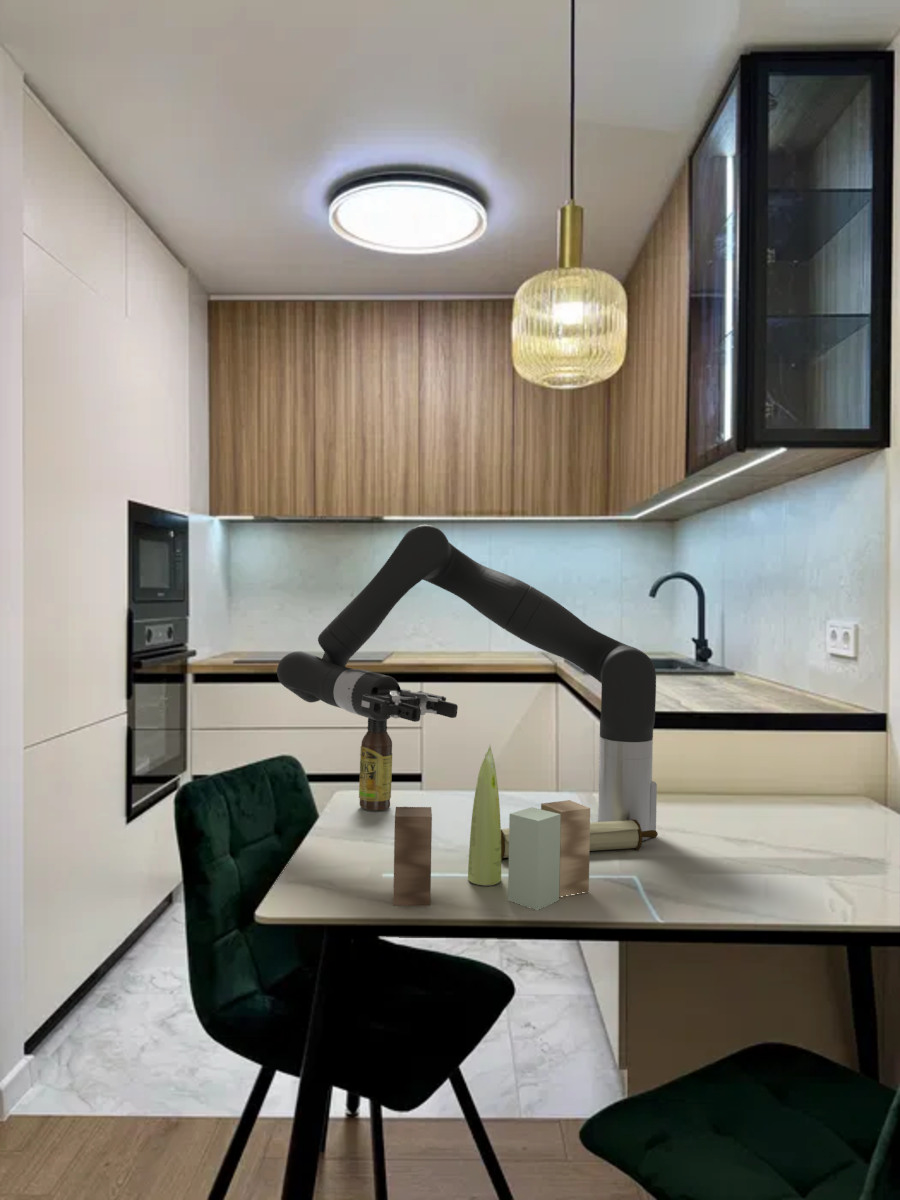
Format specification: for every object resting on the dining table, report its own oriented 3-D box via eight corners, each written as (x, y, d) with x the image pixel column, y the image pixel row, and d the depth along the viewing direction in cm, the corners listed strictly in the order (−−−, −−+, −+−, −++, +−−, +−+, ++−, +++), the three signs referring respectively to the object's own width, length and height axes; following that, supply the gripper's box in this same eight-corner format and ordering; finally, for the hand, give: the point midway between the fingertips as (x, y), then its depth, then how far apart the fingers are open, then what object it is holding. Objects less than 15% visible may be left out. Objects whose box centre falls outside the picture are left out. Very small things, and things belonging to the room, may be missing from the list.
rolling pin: (648, 843, 141) (649, 814, 141) (665, 853, 136) (665, 823, 136) (469, 855, 133) (469, 824, 133) (479, 866, 127) (479, 834, 127)
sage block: (530, 891, 116) (531, 807, 116) (559, 900, 113) (560, 814, 113) (507, 900, 113) (509, 813, 113) (537, 910, 109) (538, 820, 109)
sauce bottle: (352, 806, 161) (354, 705, 161) (379, 802, 165) (381, 703, 165) (370, 814, 156) (371, 709, 156) (397, 809, 160) (399, 707, 159)
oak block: (568, 881, 121) (569, 800, 121) (588, 892, 116) (590, 808, 116) (539, 886, 119) (541, 803, 119) (559, 897, 114) (561, 811, 114)
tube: (511, 884, 119) (513, 750, 119) (482, 890, 116) (485, 753, 116) (488, 872, 124) (490, 743, 124) (460, 878, 121) (462, 746, 121)
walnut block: (429, 892, 116) (431, 807, 115) (430, 905, 111) (431, 816, 110) (394, 891, 115) (395, 806, 115) (393, 905, 110) (394, 816, 110)
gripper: (336, 672, 132) (408, 691, 121) (399, 670, 143) (470, 687, 132) (332, 718, 132) (403, 741, 122) (394, 713, 143) (464, 733, 132)
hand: (437, 713), depth 127 cm, fingers open, 8 cm apart
